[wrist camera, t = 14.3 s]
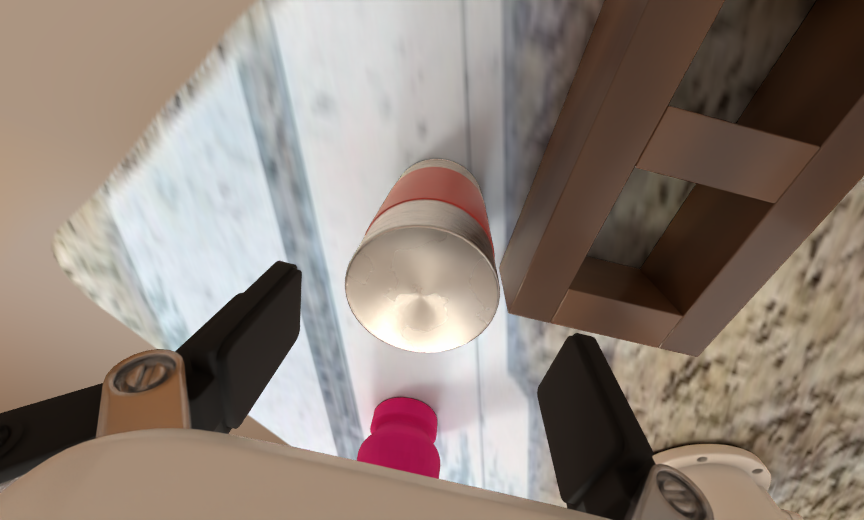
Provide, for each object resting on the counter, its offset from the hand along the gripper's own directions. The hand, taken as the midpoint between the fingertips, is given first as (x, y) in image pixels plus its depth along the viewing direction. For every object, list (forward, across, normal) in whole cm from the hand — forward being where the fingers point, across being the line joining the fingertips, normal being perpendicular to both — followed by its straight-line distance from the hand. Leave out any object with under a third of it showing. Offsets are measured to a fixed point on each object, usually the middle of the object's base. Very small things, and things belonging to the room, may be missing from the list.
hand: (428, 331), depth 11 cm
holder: (+11, -10, -7) cm, 17 cm away
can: (+11, +1, -1) cm, 11 cm away
